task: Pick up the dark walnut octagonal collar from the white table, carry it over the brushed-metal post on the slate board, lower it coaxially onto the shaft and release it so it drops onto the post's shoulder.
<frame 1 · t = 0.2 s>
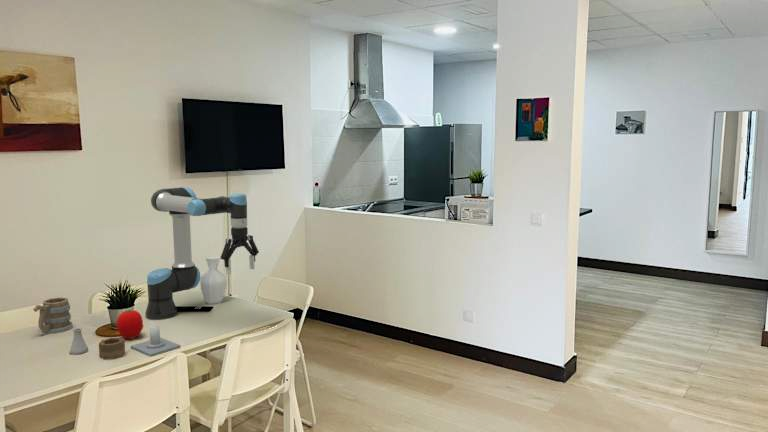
hand: (240, 271, 275), 28 cm above the table, fingers open, 13 cm apart
tankard: (51, 331, 274), on the table
post fixture: (155, 347, 253), on the table
collar: (112, 355, 244), on the table
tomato: (130, 337, 266), on the table
vase: (214, 302, 324), on the table
flask: (79, 352, 248), on the table
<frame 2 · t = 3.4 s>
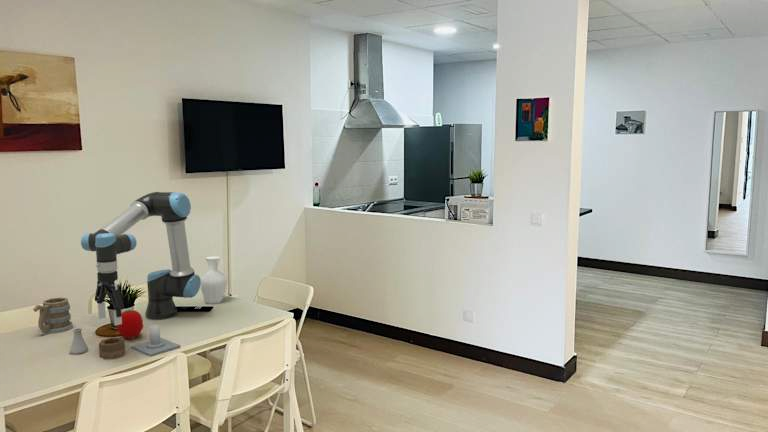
hand: (110, 321, 242), 15 cm above the table, fingers open, 13 cm apart
nothing on the table moved.
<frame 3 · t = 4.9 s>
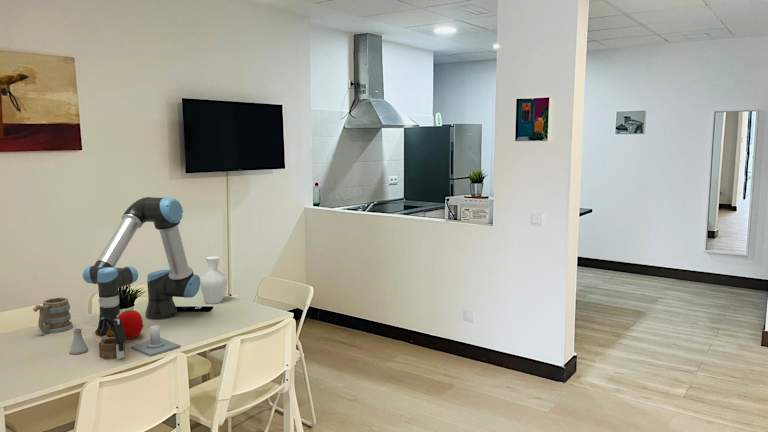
hand: (112, 354, 244), 0 cm above the table, fingers open, 13 cm apart
nothing on the table moved.
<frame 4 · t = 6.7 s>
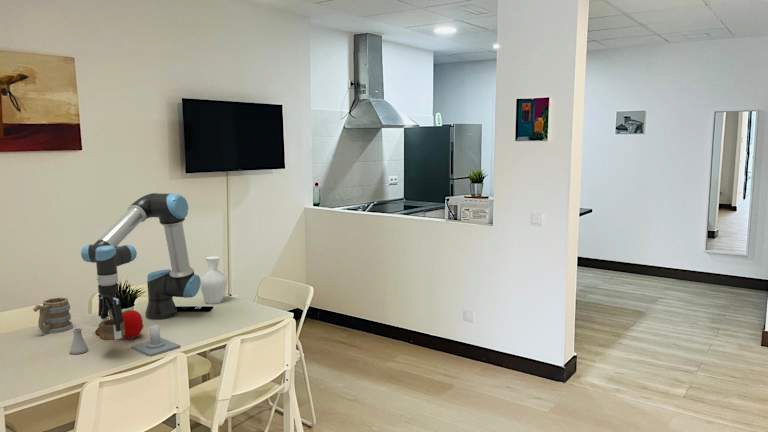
hand: (112, 335, 243), 8 cm above the table, fingers closed on collar, 9 cm apart
collar: (112, 336, 244), point 8 cm above the table, touching gripper
everything else where it was.
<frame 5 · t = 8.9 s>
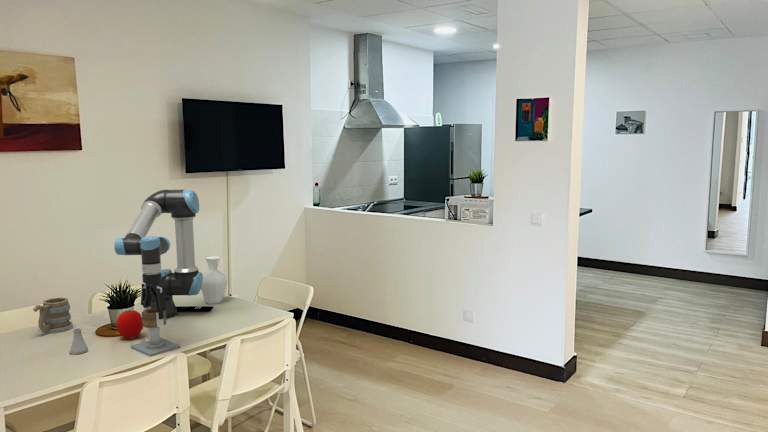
hand: (154, 324, 251), 11 cm above the table, fingers closed on collar, 9 cm apart
collar: (154, 324, 251), point 10 cm above the table, touching gripper
everything else where it was.
when the fingers open (4 cm above the table, at t = 11.1 s): collar drops 2 cm, resting on post fixture.
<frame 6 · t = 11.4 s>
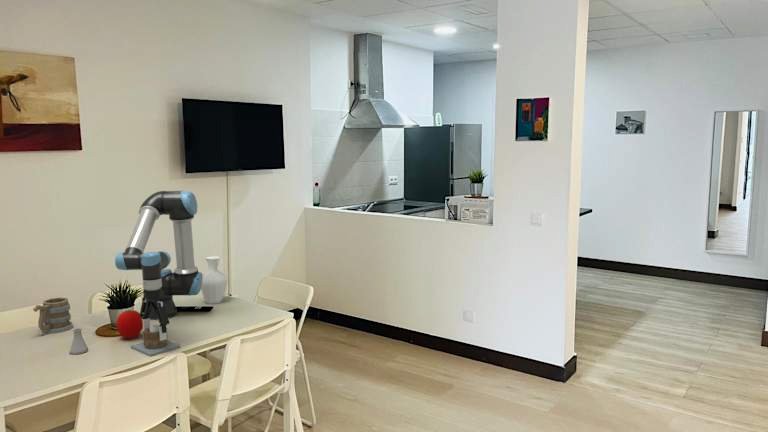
hand: (155, 336, 252), 5 cm above the table, fingers open, 12 cm apart
collar: (155, 343, 253), point 2 cm above the table, touching post fixture
everything else where it was.
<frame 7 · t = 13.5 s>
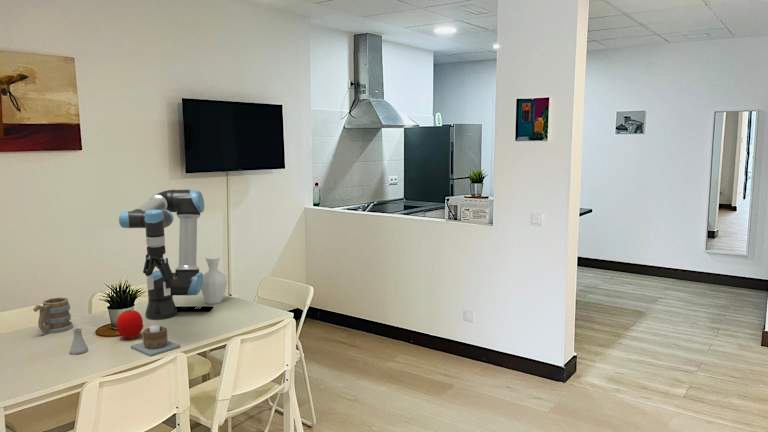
hand: (158, 292, 258), 23 cm above the table, fingers open, 13 cm apart
nothing on the table moved.
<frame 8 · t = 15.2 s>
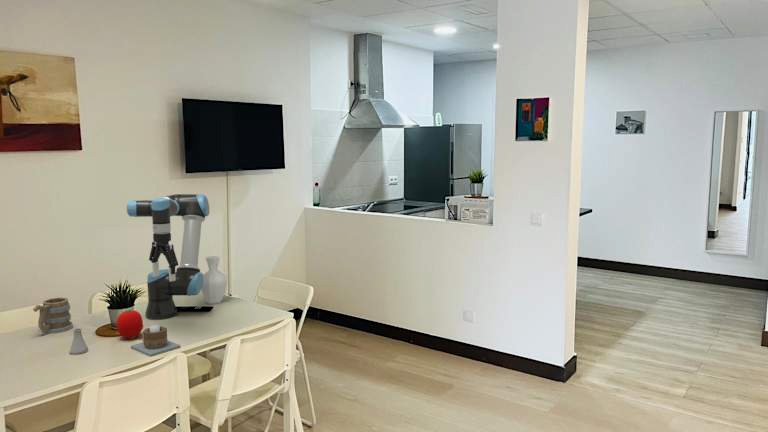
hand: (164, 278, 265), 27 cm above the table, fingers open, 13 cm apart
nothing on the table moved.
at the end: collar 0.1 cm off-centre on the post fixture, point 2.0 cm above the post fixture's base; the gripper is holding nothing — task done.
